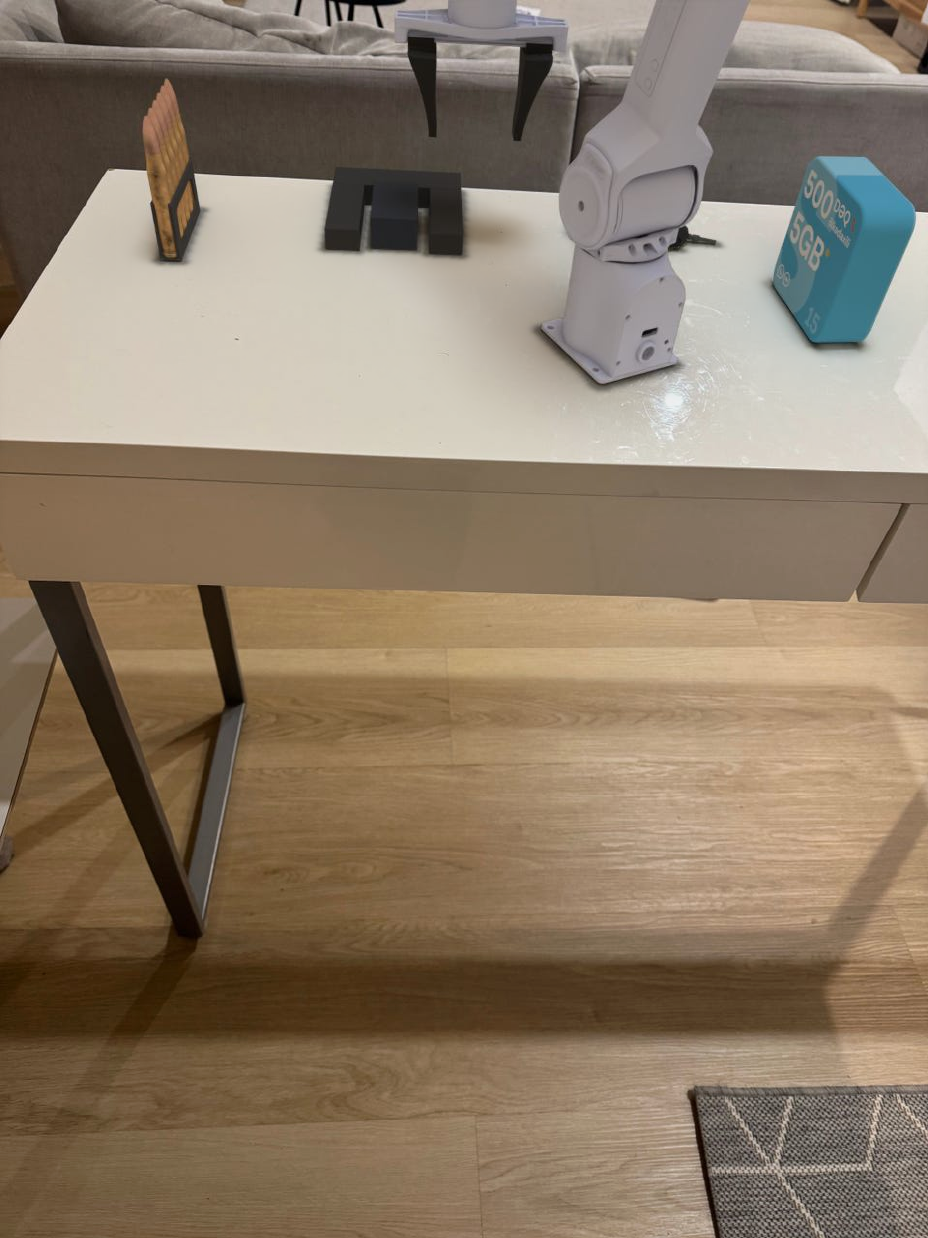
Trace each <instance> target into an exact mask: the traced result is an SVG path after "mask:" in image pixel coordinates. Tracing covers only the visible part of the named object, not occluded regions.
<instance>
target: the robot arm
mask: <svg viewBox="0 0 928 1238" xmlns="http://www.w3.org/2000/svg"><path fill="white" fill-rule="evenodd" d="M750 2H751V0H655V3H654V6H653V8H652V12H651V15H650V17H649V21H648V24H647V26H646V29H645V32H644V35H643V38H642V41H641V44H640V46H639V49H638V53H637V56H636V58H635V62H634V63H633V67H632V70H631V73H630V76H629V79H628V82H627V85H626V88H625V91H624V94H623V96H622V99H621V102H620V103H619V104H618V105H617V106H616V107H615V108H614V109H613V110H611V111H610V112H609V113H608V114H607V115H606V116H604V117H603V118H602V119H601V120H600V121H599V122H598V123H596V124H595V125H594V126H593V127H592V128H591V129H590V130H588V131H587V133H586V134H585V135H584V139H583V141H582V144H581V148H580V150H579V152H578V154H577V156H576V157H575V159H573V160H572V162H570V164H568V166H567V167H566V169H565V171H564V173H563V176H562V178H561V182H560V187H559V192H558V210H559V215H560V220H561V223H562V226H563V228H564V230H565V232H566V234H567V235H568V238H569V240H570V241H572V243H574V250H573V255H572V263H571V269H570V275H569V281H568V288H567V293H566V302H565V307H564V314H563V317H561V318H560V317H559V318H556V319H553V320H548V321H543V322H542V323H541V330H542V331H543V332H544V333H545V334H546V335H547V336H548V337H549V338H550V339H551V340H553V342H554V343H556V345H557V346H559V347H560V348H561V350H563V351H564V352H565V353H566V354H567V355H568V356H569V357H571V359H572V360H574V362H576V364H578V365H579V366H580V367H581V368H582V369H583V370H584V371H585V372H586V373H587V374H588V375H589V376H590V377H592V378H593V380H595V381H596V382H597V383H599V384H601V385H602V384H603V385H605V384H607V383H608V384H609V383H611V382H615V381H619V380H622V379H627V378H629V377H634V376H637V375H641V374H644V373H648V372H652V371H655V370H659V369H663V368H666V367H670V366H674V365H676V364H677V363H678V360H679V359H678V357H677V356H676V355H675V354H674V353H673V351H674V346H675V342H676V338H677V335H678V330H679V328H680V327H679V326H680V323H681V320H682V315H683V312H684V308H685V303H686V296H687V292H686V286H685V284H684V282H683V280H682V279H681V277H680V276H679V275H678V274H677V273H676V271H675V270H674V268H673V266H672V263H671V260H670V257H669V249H668V247H669V245H671V244H673V243H675V242H676V238H677V234H678V230H679V228H681V227H683V226H685V225H686V226H687V225H688V224H689V223H691V222H692V221H693V220H694V218H695V216H696V215H697V213H698V211H699V210H700V206H701V204H702V201H703V200H702V199H703V194H704V185H705V184H704V182H705V175H706V171H707V168H708V166H709V164H710V161H711V159H712V156H713V154H714V150H713V147H712V144H711V143H710V140H709V138H708V136H707V135H706V133H705V131H704V130H703V128H702V127H701V126H700V125H699V122H700V120H701V118H702V115H703V114H704V110H705V108H706V107H707V104H708V101H709V100H710V99H709V98H710V96H711V94H712V92H713V90H714V87H715V84H716V82H717V80H718V78H719V76H720V72H721V71H722V68H723V66H724V63H725V61H726V59H727V56H728V53H729V51H730V49H731V47H732V45H733V42H734V40H735V37H736V35H737V33H738V30H739V28H740V26H741V23H742V21H743V18H744V17H745V15H746V11H747V9H748V6H749V4H750ZM517 9H518V0H447V8H435V9H434V8H432V9H431V8H430V9H414V10H413V9H411V10H410V9H406V10H405V9H395V10H394V17H393V18H394V43H395V44H407V57H408V61H409V65H410V67H411V69H412V72H413V74H414V77H415V79H416V83H417V85H418V88H419V91H420V94H421V95H420V96H421V98H422V101H423V106H424V111H425V114H426V120H427V129H428V137H429V138H437V133H438V132H437V130H438V124H437V123H438V122H437V121H438V120H437V116H438V115H437V100H436V99H437V98H436V94H437V90H436V89H437V66H438V65H437V63H438V60H437V58H438V57H437V51H438V47H437V46H438V45H437V44H456V45H473V46H490V47H491V46H493V47H494V46H495V47H510V48H511V47H512V48H513V47H514V48H519V57H518V59H519V61H518V74H517V75H518V76H517V88H516V89H517V90H516V97H515V103H514V104H515V105H514V110H513V117H512V126H511V127H512V128H511V134H512V141H513V142H522V138H523V133H524V129H525V125H526V123H527V119H528V116H529V113H530V111H531V108H532V106H533V103H534V102H535V99H536V97H537V95H538V93H539V91H540V89H541V87H542V85H543V84H544V81H545V80H546V78H547V77H548V75H549V74H550V72H551V69H552V67H553V63H554V56H553V52H557V53H559V52H560V53H562V52H563V53H566V50H567V42H568V34H569V24H568V20H567V19H565V18H554V17H545V16H540V15H533V14H528V13H527V14H526V13H521V12H517Z"/></svg>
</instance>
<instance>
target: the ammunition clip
mask: <svg viewBox="0 0 928 1238" xmlns="http://www.w3.org/2000/svg"><path fill="white" fill-rule="evenodd" d="M176 96H177V95H176V93H175V90H174V88H173V85H172V84H171V81H170V80H169V78H164V82H163V85H161V87H160V89H159V92H157V93H156V97H155V99H153V100H152V104H151V107H149V108H148V111H147V114H146V115H144V117H143V121H142V141H143V147H144V154H145V160H146V161H145V162H146V175H147V181H148V185H149V191H150V196H151V200H150V203H149V206H150V211H151V217H152V221H153V227H154V233H155V237H156V244H157V248H158V255H159V259H160V261H163V262H164V261H166V262H182V260H183V258H184V256H185V253H186V251H187V248H188V245H189V243H190V239H191V237H192V235H193V232H194V229H195V226H196V224H197V222H198V219H199V217H200V213H201V206H200V205H201V204H200V200H199V194H198V188H197V183H196V182H197V181H196V175H195V170H194V165H193V157H190V155H189V148H188V143H187V142H188V141H187V138H186V137H187V136H186V132H185V128H184V126H183V121H182V119H181V118H182V117H181V113H180V109H179V104H178V100H177V97H176Z"/></svg>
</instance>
